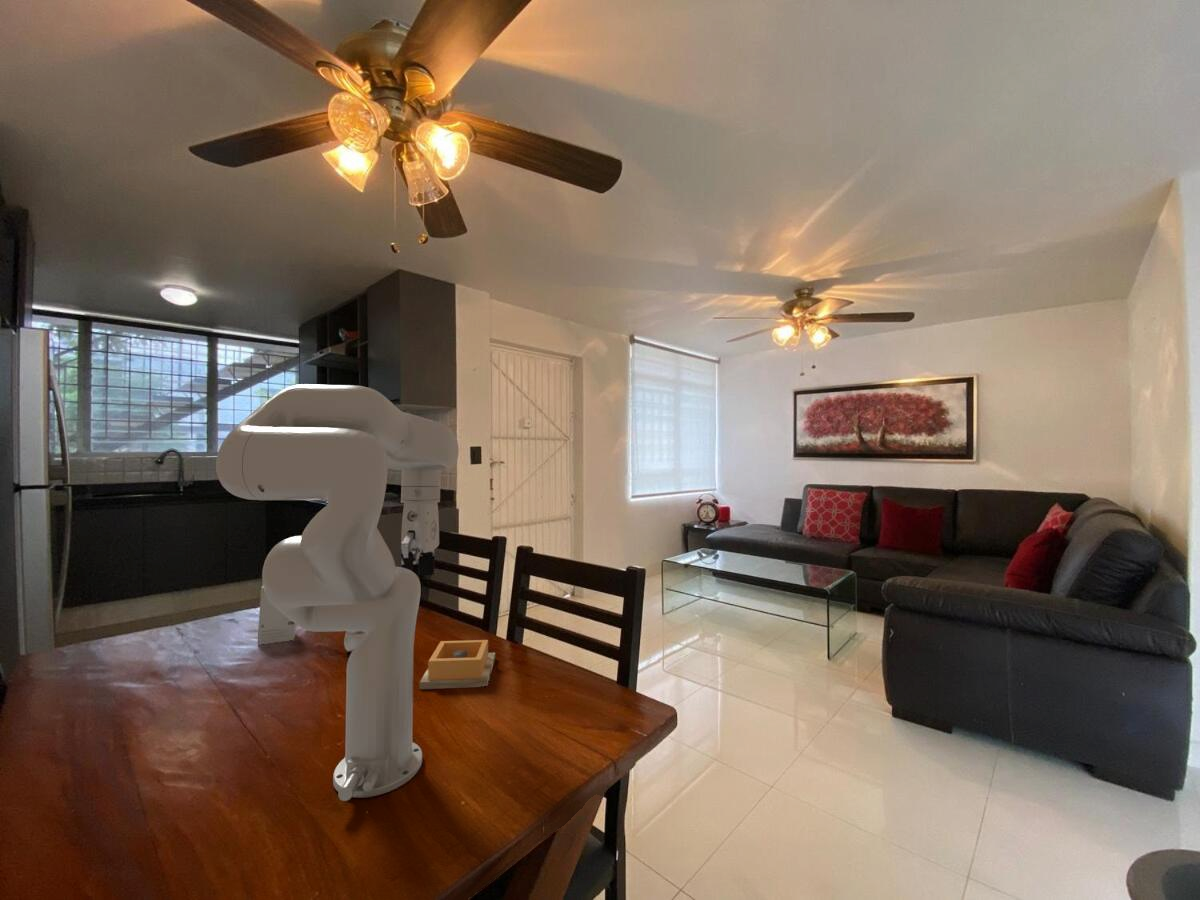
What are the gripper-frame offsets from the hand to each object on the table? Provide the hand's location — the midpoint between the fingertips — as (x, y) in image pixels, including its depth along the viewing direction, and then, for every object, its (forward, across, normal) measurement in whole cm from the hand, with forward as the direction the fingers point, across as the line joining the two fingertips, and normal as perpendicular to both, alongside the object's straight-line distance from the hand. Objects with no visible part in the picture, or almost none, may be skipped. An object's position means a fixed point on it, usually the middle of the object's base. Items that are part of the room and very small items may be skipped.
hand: (418, 579), depth 96 cm
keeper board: (+24, +13, -6) cm, 27 cm away
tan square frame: (+22, +12, -6) cm, 26 cm away
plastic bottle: (+23, +26, +23) cm, 42 cm away
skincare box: (+22, +34, +47) cm, 62 cm away
